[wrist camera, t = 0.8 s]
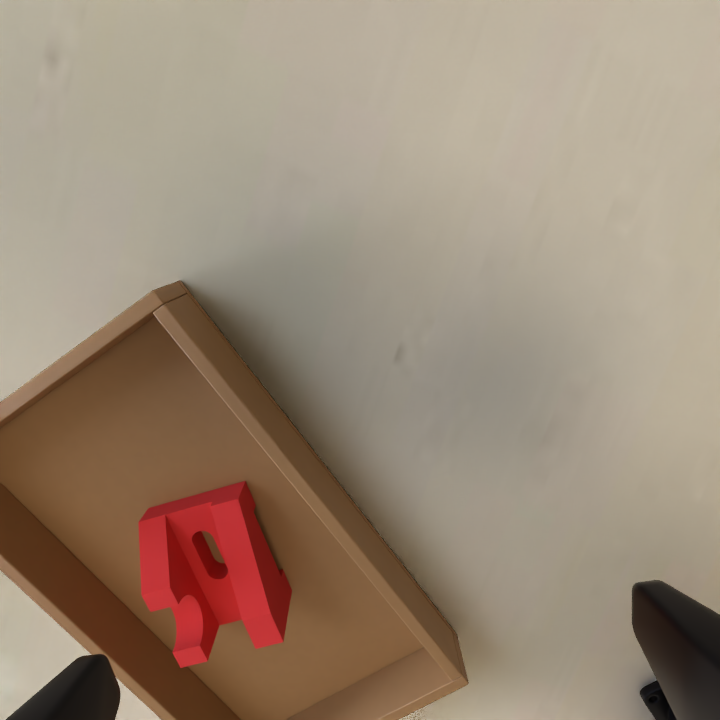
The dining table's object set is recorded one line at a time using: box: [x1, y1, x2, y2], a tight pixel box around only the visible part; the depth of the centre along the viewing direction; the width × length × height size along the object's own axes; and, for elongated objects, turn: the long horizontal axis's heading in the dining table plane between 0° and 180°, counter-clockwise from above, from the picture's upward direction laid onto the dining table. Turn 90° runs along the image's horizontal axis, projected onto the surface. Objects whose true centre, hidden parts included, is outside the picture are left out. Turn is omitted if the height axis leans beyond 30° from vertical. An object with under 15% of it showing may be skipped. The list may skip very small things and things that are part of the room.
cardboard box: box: [0, 280, 469, 720], centre depth 22 cm, size 22×13×3 cm, turn 34°
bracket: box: [138, 481, 292, 668], centre depth 22 cm, size 6×5×3 cm
